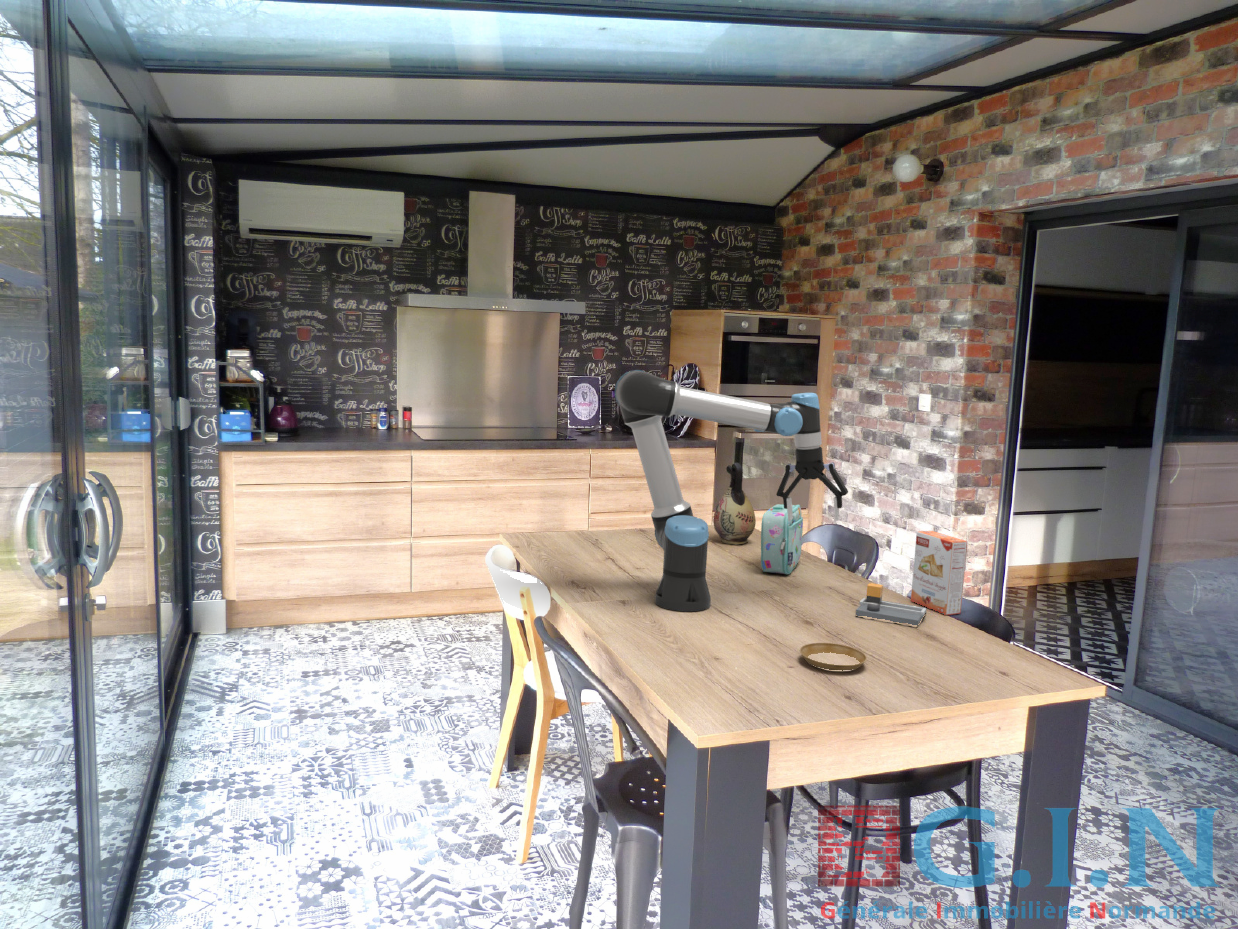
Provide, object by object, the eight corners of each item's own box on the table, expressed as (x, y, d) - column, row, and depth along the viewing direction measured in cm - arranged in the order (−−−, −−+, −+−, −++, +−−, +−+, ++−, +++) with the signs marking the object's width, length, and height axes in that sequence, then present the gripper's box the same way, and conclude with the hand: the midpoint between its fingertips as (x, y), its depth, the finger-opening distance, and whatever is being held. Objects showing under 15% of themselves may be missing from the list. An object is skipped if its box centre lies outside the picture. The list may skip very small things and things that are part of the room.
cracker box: (909, 602, 254) (915, 530, 251) (925, 600, 256) (932, 529, 253) (944, 616, 241) (951, 541, 238) (961, 614, 243) (968, 540, 241)
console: (918, 628, 229) (920, 614, 228) (853, 616, 236) (854, 603, 236) (927, 615, 241) (928, 602, 240) (865, 604, 249) (866, 591, 248)
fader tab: (879, 606, 239) (880, 587, 239) (865, 604, 241) (867, 585, 240) (881, 603, 242) (883, 585, 241) (868, 601, 244) (869, 583, 243)
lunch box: (789, 580, 273) (794, 511, 270) (756, 575, 276) (761, 508, 273) (802, 562, 298) (806, 499, 295) (771, 558, 301) (776, 496, 298)
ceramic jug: (707, 537, 331) (712, 458, 327) (748, 538, 333) (753, 459, 329) (717, 547, 314) (723, 464, 310) (760, 548, 316) (765, 465, 312)
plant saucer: (879, 674, 194) (880, 662, 194) (819, 678, 190) (820, 666, 190) (843, 651, 208) (844, 641, 208) (787, 655, 204) (788, 644, 204)
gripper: (855, 443, 250) (859, 516, 253) (769, 446, 261) (775, 516, 264) (850, 447, 244) (855, 522, 247) (762, 450, 254) (768, 522, 257)
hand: (813, 519), depth 255 cm, fingers open, 13 cm apart
